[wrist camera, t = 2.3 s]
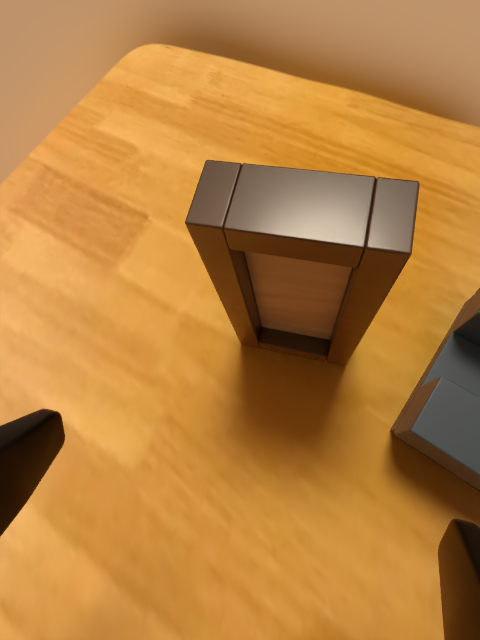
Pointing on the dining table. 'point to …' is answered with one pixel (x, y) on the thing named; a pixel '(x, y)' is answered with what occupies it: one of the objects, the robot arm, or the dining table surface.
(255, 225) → the frame
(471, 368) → the holder
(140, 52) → the dining table surface
